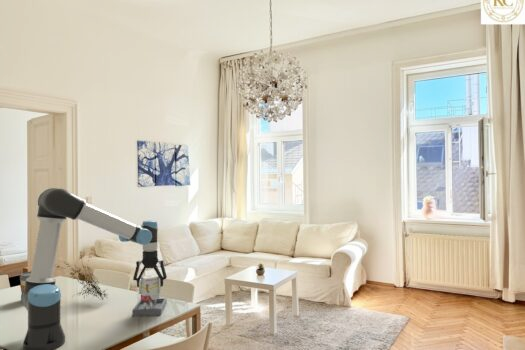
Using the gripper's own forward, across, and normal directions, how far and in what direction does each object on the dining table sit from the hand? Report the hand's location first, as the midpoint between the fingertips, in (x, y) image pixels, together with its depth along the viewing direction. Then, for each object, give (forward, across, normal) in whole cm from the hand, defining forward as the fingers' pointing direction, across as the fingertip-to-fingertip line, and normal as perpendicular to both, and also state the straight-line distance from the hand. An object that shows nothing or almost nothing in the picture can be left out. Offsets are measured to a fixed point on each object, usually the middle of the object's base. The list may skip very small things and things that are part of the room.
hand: (150, 293), depth 202 cm
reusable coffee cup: (+9, +71, -26) cm, 76 cm away
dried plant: (+9, +43, -20) cm, 48 cm away
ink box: (+3, 0, 0) cm, 3 cm away
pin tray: (+9, 0, 0) cm, 9 cm away
